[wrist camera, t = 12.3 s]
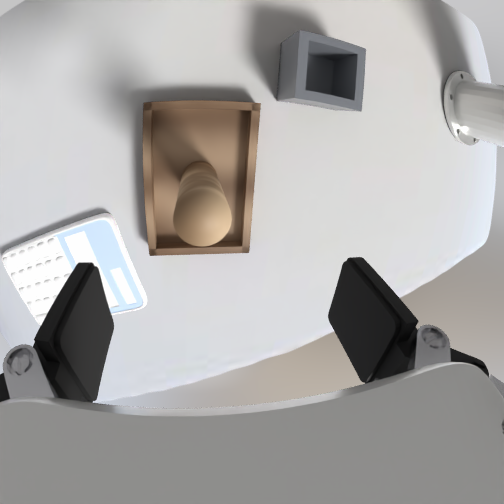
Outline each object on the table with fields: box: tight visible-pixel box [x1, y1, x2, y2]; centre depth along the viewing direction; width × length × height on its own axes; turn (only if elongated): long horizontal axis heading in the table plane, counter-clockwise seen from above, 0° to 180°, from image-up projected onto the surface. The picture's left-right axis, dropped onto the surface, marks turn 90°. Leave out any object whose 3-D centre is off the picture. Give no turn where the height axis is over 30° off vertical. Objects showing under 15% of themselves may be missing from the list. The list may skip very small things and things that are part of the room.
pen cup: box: [277, 30, 366, 111], centre depth 21 cm, size 7×7×6 cm
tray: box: [143, 100, 261, 256], centre depth 26 cm, size 16×11×2 cm
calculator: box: [2, 213, 147, 325], centre depth 29 cm, size 13×20×2 cm, turn 99°
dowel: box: [173, 161, 232, 246], centre depth 21 cm, size 4×4×12 cm
